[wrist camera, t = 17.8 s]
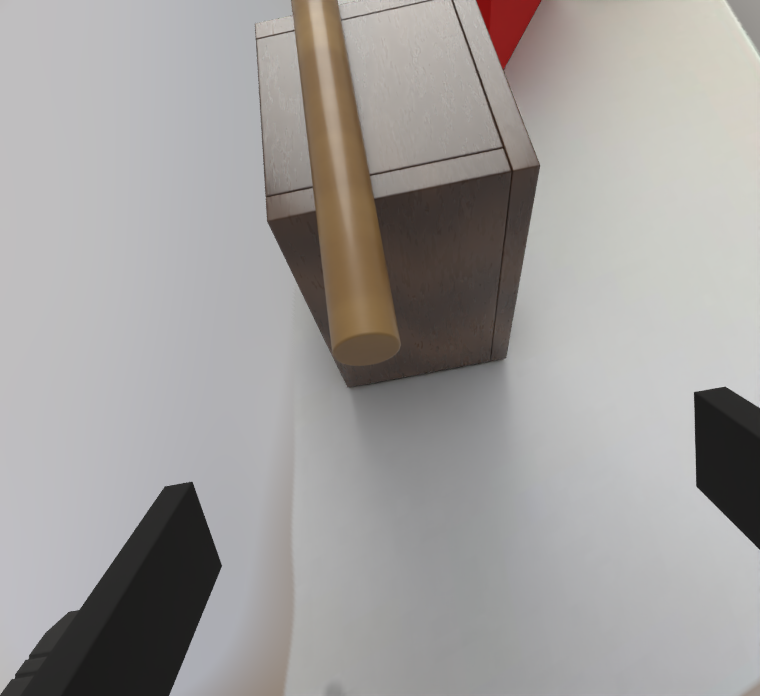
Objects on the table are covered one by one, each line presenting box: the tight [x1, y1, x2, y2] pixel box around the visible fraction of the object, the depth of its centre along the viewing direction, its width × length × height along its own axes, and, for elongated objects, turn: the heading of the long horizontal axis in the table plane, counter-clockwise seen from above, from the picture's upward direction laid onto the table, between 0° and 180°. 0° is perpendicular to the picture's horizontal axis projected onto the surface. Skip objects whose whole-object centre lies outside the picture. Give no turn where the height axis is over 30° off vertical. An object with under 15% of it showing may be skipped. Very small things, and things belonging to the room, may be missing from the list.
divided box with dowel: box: [255, 0, 540, 387], centre depth 28 cm, size 18×25×10 cm
